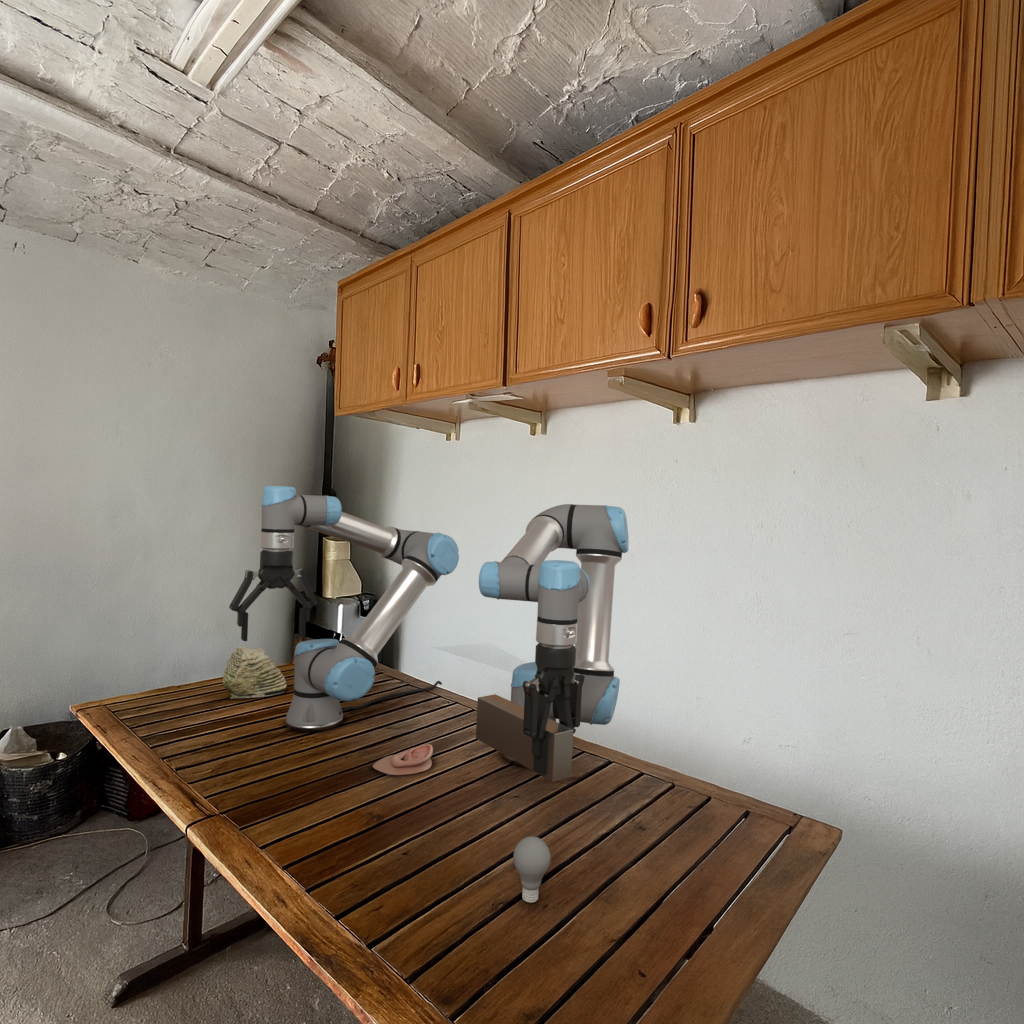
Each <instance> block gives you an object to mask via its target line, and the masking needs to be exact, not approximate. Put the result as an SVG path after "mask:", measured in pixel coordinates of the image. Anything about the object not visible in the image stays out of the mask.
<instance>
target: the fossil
mask: <svg viewBox="0 0 1024 1024" xmlns="http://www.w3.org/2000/svg"><path fill="white" fill-rule="evenodd" d="M222 676H223V677H222V685H223V687H224V688H225V690H226V691H228V693H229V698H230V699H250V698H264V697H271V696H275V695H281V694H284V693H285V691H286V689H287V687H288V686H287V680H286V678H285V676H284V674H283V673H282V672H281V669H279V668H278V667H277V665H276V663H275V662H274V660H273V659H272V658H271V657H270V656H269V655H268V654H267V653H266V652H265V650H264V649H263V648H260V647H258V648H251V647H247V646H246V647H245V646H238V647H237V648H236V649H235V650H233V651H232V653H231V656H230V657H229V659H228V660H227V663H226V666H225V668H224V671H223V675H222Z"/></svg>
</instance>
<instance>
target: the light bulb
mask: <svg viewBox="0 0 1024 1024" xmlns="http://www.w3.org/2000/svg"><path fill="white" fill-rule="evenodd" d="M512 858H513V864H514V866H515V869H516V871H517V873H518V875H519V878H520V884H521V886H522V894H521V895H522V896H521V898H522V900H523V901H524V902H526V903H530V904H531V903H535V902H537V901H538V900H539V888H540V887H541V885H542V879H543V877H544V876H545V874H546V873H547V871H548V869H549V867H550V865H551V862H552V861H551V859H552V857H551V851H550V848H549V846H548V845H547V843H546V842H545V841H544V840H543V839H542V838H541V837H539V836H525V837H524V838H522V839H521V840H520V841H518V843H517V844H516V846H515V848H514V851H513V856H512Z"/></svg>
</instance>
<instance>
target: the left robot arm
mask: <svg viewBox="0 0 1024 1024" xmlns="http://www.w3.org/2000/svg"><path fill="white" fill-rule="evenodd" d="M260 506H261V529H260V548H261V551H260V552H259V568H258V570H257V571H256V570H250V569H246V570H245V571H244V578H243V581H242V583H241V584H240V586H239V587H238V589H237V591H236V592H235V594H234V596H233V598H232V600H231V601H230V604H229V605H228V608H229V610H230V611H232V612H236V613H237V615H236V616H237V617H236V619H237V620H236V624H237V627H239V628H240V629H241V631H240V640H242V641H243V642H248V636H249V635H248V631H249V612H247V610H248V609H249V608H250V607H251V605H252V604H253V603H254V602H255V601H256V600H257V598H259V596H260V595H261V594H262V593H264V592H265V591H266V589H269V590H274V589H284V588H286V589H287V590H288V591H289V592H290V593H291V594H292V595H293V597H295V599H296V600H297V601H298V603H299V604H300V605H301V606H302V607H299V617H298V634H299V635H300V636H301V637H305V636H306V630H307V629H306V626H307V625H306V624H307V622H310V619H311V618H310V617H311V609H313V607H317V606H318V605H319V602H318V599H317V597H316V595H315V593H314V590H313V589H312V587H311V584H310V583H309V580H308V578H307V570H306V569H304V568H298V569H294V552H293V550H292V549H294V547H295V546H294V545H295V543H294V542H295V527H296V526H300V527H302V528H306V529H309V530H312V531H315V532H318V533H321V534H324V535H327V536H330V537H332V538H336V539H338V540H341V541H344V542H346V543H347V542H348V543H350V544H354V545H356V546H359V547H362V548H365V549H367V550H370V551H374V552H376V553H377V555H378V556H379V557H380V558H383V559H386V560H389V561H392V562H393V563H396V564H398V565H400V566H401V567H402V569H401V571H399V573H398V574H397V576H396V577H395V578H394V580H393V581H392V582H391V583H390V585H389V586H388V587H387V588H386V590H385V591H384V593H383V594H382V595H381V597H380V598H379V599H378V601H377V602H376V603H375V604H374V606H373V607H372V608H371V611H369V612H368V614H367V615H366V617H365V618H364V619H363V621H362V622H361V623H360V624H359V626H358V627H357V629H356V630H355V631H354V632H353V634H352V635H351V636H348V637H344V638H342V639H341V640H340V641H339V640H338V639H337V638H319V639H308V640H303V641H300V642H297V644H296V646H295V650H294V655H293V657H294V672H293V695H292V696H293V697H292V699H291V702H290V704H289V708H288V711H287V713H286V715H285V726H286V728H287V729H289V730H291V731H294V732H295V731H296V732H301V733H316V732H325V731H329V730H332V729H335V728H337V727H339V726H340V725H342V723H343V722H344V714H343V711H347V710H359V709H364V708H366V707H367V706H369V705H371V704H373V703H375V702H379V701H381V700H382V701H383V700H385V699H388V698H391V697H396V696H397V697H398V696H402V695H408V694H409V695H410V694H414V693H420V692H425V691H430V690H432V689H435V688H436V687H437V686H438V685H441V686H442V685H443V683H442V681H440V680H437V681H436V682H435V683H434V684H433V685H431V686H428V687H427V686H426V687H422V688H415V689H411V690H405V691H398V692H394V693H393V692H392V693H388V694H385V695H382V696H379V697H377V698H373V699H370V700H369V701H367V702H365V703H363V704H360V705H351V706H341V702H340V701H342V702H353V701H354V702H355V701H357V700H359V699H361V698H363V697H364V696H366V695H367V693H368V692H370V690H371V689H372V687H373V686H374V682H375V680H376V679H375V676H376V670H375V669H376V667H377V665H379V660H378V659H379V658H378V655H379V654H380V652H381V651H382V649H383V648H384V646H385V645H386V644H387V642H388V641H389V640H390V638H391V637H392V635H393V634H394V633H395V631H396V630H397V629H398V627H399V626H400V625H401V623H402V621H403V620H404V619H405V617H406V616H407V614H408V613H409V612H410V611H411V609H412V608H413V606H414V605H415V603H416V602H417V601H418V599H419V598H420V597H421V595H422V594H423V592H424V591H425V589H426V588H427V587H431V586H435V585H436V583H437V582H438V580H439V579H440V578H441V576H447V575H450V574H452V573H453V572H454V571H455V570H456V568H457V566H458V564H459V560H460V554H459V552H460V550H459V546H458V544H457V542H456V541H455V540H454V538H453V537H451V536H450V535H448V534H443V533H442V532H427V531H419V530H410V529H409V530H406V529H401V528H397V527H395V526H386V527H384V526H382V525H379V524H376V523H374V522H371V521H368V520H365V519H363V518H361V517H359V516H358V517H357V516H356V515H355V516H354V515H352V514H350V513H347V512H344V511H342V510H343V508H342V503H341V501H340V500H339V498H337V497H336V496H330V495H311V494H297V490H296V488H295V486H286V485H285V486H284V485H281V486H280V485H266V486H265V487H264V488H263V490H262V498H261V505H260ZM294 577H296V578H297V579H298V581H299V583H300V584H301V587H302V589H303V591H304V593H305V595H306V597H307V599H308V600H307V599H306V598H305V597H304V595H303V594H302V593H301V592H300V591H299V589H297V587H296V586H295V584H294V583H293V582H292V581H291V580H292V579H293V578H294ZM256 578H258V579H259V580H260V581H259V582H258V583H257V584H256V586H255V588H254V589H253V590H252V591H251V592H250V593H249V594H248V595H247V596H246V598H245V599H244V597H245V595H246V594H247V592H248V591H249V588H250V586H251V584H252V582H253V581H254V580H255V579H256ZM243 599H244V600H243Z"/></svg>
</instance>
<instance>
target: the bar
mask: <svg viewBox="0 0 1024 1024" xmlns="http://www.w3.org/2000/svg"><path fill="white" fill-rule="evenodd" d="M523 724H524V707H522V706H520V705H518V704H516V703H513V702H511V700H510V699H507V698H504V697H503V696H500V695H498V694H496V693H495V694H489V695H484V696H478V697H477V704H476V727H475V740H478V741H480V742H481V743H483V744H485V745H487V746H488V747H490V748H492V749H493V750H495V751H497V752H499V753H500V754H501V753H502V754H504V755H506V756H508V757H509V758H511V759H513V760H515V761H516V762H518V763H520V764H522V765H523V766H525V768H526V769H528V770H531V771H532V772H533V773H535V774H537V775H539V776H541V777H543V778H544V779H546V780H548V781H549V782H551V783H554V782H558V781H561V780H565V779H567V778H570V777H572V772H573V771H572V770H573V768H572V767H573V750H574V749H573V747H574V734H573V729H571V728H569V727H566V726H564V725H562V724H560V723H559V721H558V722H557V721H556V722H555V721H553V720H551V719H549V718H548V721H547V725H546V730H545V735H544V738H546V739H547V756H546V775H544V776H542V775H540V774H539V773H537V772H535V771H533V763H534V755H532V738H531V737H529V736H527V735H525V734H524V733H523ZM523 766H522V767H523Z"/></svg>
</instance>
